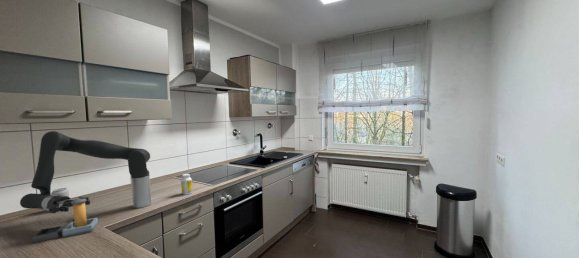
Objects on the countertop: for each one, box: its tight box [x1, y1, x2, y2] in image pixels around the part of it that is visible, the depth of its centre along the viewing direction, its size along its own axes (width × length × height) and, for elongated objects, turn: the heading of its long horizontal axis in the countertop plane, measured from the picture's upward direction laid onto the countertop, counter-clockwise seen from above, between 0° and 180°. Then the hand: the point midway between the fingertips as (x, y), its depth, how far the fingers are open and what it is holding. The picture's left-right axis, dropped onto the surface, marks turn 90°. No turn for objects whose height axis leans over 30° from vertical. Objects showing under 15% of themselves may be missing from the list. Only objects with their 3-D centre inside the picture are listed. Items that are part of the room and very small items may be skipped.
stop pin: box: [71, 198, 88, 228], centre depth 110 cm, size 5×5×13 cm
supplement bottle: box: [180, 173, 193, 196], centre depth 160 cm, size 7×7×13 cm
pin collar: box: [31, 224, 66, 243], centre depth 105 cm, size 8×8×2 cm
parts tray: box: [62, 217, 99, 238], centre depth 110 cm, size 10×10×3 cm
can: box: [51, 187, 70, 197], centre depth 140 cm, size 8×8×12 cm
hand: (78, 205), depth 110 cm, fingers open, 8 cm apart
